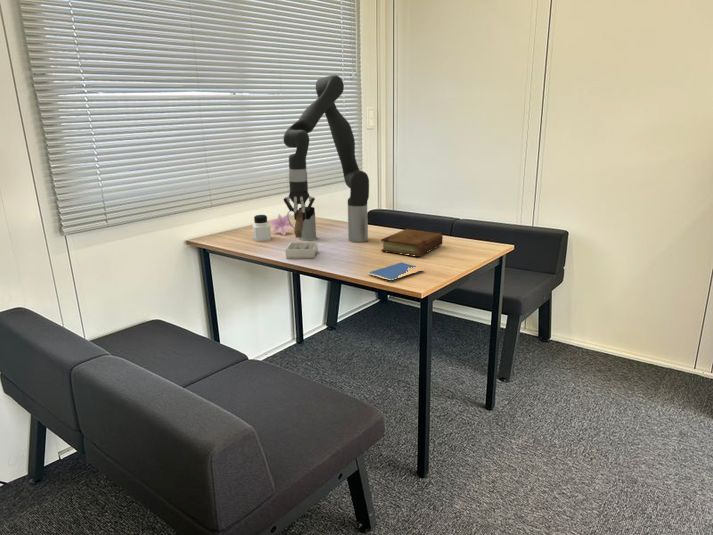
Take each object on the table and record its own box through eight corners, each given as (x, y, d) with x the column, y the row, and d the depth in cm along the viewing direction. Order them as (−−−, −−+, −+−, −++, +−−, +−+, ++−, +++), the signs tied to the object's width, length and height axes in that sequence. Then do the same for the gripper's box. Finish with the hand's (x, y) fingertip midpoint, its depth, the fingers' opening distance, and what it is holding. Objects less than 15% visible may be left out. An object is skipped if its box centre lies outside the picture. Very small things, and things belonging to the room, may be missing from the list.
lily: (266, 232, 258) (264, 218, 251) (285, 223, 264) (283, 208, 257) (281, 244, 252) (279, 229, 245) (299, 233, 258) (298, 219, 251)
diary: (419, 258, 213) (419, 244, 211) (381, 251, 222) (381, 239, 221) (442, 245, 231) (442, 233, 229) (406, 240, 241) (406, 228, 239)
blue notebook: (401, 264, 204) (401, 261, 204) (425, 271, 196) (425, 268, 195) (367, 275, 192) (367, 272, 191) (391, 283, 183) (391, 279, 183)
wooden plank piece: (301, 237, 210) (304, 216, 217) (300, 230, 206) (303, 209, 214) (295, 237, 210) (298, 217, 217) (294, 230, 206) (297, 209, 214)
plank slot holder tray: (317, 250, 224) (317, 242, 223) (314, 258, 213) (313, 249, 211) (290, 250, 225) (290, 242, 223) (285, 258, 213) (285, 249, 212)
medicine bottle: (271, 240, 243) (269, 215, 239) (256, 242, 240) (254, 217, 237) (267, 237, 249) (266, 213, 246) (253, 238, 247) (251, 214, 243)
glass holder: (314, 241, 240) (312, 210, 235) (285, 240, 243) (283, 209, 238) (319, 236, 248) (318, 206, 244) (291, 235, 251) (289, 206, 246)
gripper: (316, 178, 212) (317, 219, 217) (283, 178, 213) (285, 219, 218) (313, 181, 205) (315, 222, 210) (280, 181, 206) (282, 222, 211)
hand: (300, 220), depth 214 cm, fingers closed on wooden plank piece, 2 cm apart
